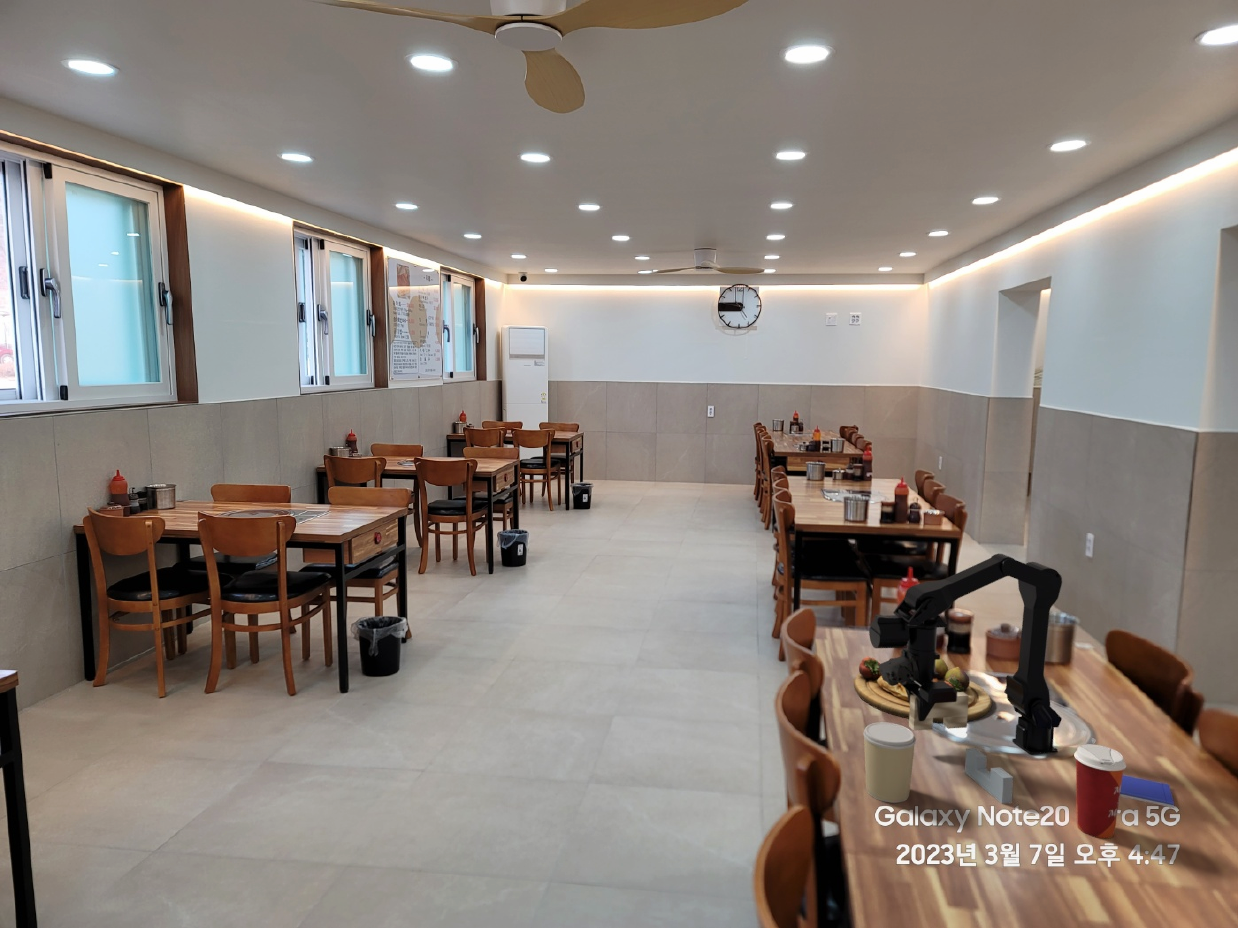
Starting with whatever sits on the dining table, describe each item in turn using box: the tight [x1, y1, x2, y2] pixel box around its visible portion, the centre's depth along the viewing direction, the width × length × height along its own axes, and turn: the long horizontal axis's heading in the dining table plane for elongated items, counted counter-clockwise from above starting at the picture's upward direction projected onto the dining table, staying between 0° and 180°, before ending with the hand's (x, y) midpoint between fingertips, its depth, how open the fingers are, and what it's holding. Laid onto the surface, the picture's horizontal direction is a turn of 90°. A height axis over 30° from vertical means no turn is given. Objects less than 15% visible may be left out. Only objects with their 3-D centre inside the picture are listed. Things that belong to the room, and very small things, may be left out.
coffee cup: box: [863, 721, 917, 804], centre depth 150 cm, size 9×9×12 cm
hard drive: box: [1120, 774, 1175, 809], centre depth 152 cm, size 2×8×12 cm
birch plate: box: [908, 692, 968, 731], centre depth 167 cm, size 12×2×7 cm, turn 98°
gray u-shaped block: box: [964, 747, 1014, 805], centre depth 152 cm, size 2×12×5 cm, turn 8°
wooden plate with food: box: [853, 656, 993, 723], centre depth 197 cm, size 32×32×8 cm
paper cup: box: [1073, 743, 1127, 839], centre depth 138 cm, size 8×8×14 cm
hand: (918, 718), depth 167 cm, fingers closed on birch plate, 2 cm apart
